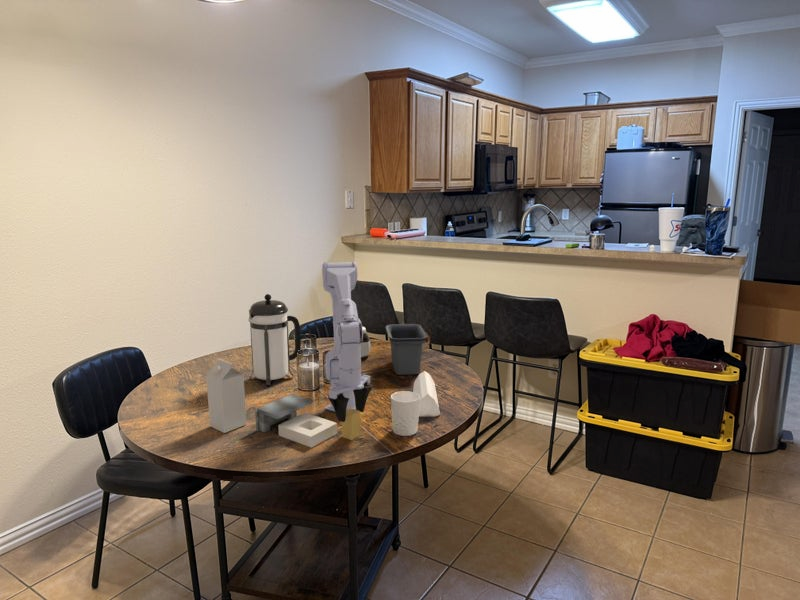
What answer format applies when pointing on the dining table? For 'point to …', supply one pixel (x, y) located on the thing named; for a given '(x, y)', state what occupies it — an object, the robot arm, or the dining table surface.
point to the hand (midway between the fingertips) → (350, 415)
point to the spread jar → (365, 345)
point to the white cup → (405, 412)
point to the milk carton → (226, 397)
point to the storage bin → (406, 347)
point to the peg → (351, 424)
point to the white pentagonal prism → (426, 395)
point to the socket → (307, 429)
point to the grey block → (279, 411)
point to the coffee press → (271, 339)
